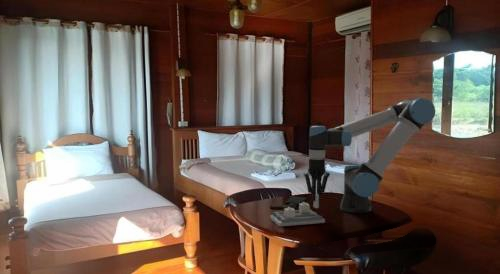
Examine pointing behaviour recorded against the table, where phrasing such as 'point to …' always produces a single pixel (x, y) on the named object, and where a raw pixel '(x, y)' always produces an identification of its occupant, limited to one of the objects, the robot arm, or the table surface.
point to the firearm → (289, 203)
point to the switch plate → (296, 218)
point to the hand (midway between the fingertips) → (316, 207)
